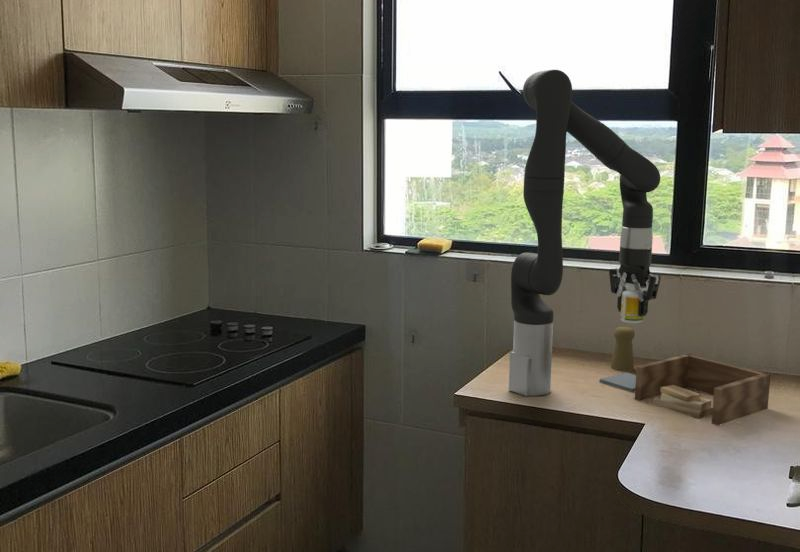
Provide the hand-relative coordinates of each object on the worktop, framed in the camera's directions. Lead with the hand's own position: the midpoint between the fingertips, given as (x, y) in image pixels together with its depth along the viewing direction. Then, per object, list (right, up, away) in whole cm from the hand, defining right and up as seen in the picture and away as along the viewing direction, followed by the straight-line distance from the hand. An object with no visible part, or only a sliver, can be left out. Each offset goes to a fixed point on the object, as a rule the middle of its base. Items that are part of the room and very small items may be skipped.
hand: (632, 313), depth 216 cm
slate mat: (0, -18, +3) cm, 18 cm away
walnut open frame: (+12, -20, -13) cm, 27 cm away
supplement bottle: (0, -2, 0) cm, 2 cm away
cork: (+2, -15, +17) cm, 23 cm away
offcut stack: (+7, -21, -16) cm, 27 cm away
